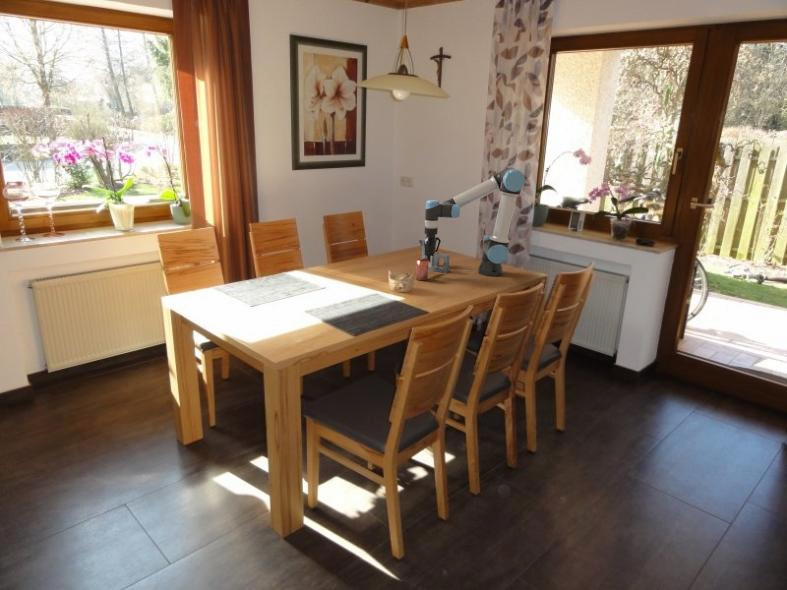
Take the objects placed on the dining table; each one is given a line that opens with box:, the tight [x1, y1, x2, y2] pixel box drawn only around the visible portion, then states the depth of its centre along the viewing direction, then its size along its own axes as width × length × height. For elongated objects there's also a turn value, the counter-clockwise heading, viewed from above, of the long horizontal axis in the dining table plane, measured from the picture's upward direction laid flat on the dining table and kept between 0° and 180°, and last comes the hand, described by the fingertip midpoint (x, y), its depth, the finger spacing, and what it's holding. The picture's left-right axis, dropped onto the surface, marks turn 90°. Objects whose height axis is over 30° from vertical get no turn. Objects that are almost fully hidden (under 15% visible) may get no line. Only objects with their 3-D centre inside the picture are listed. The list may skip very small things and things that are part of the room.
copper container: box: [415, 257, 437, 281], centre depth 326 cm, size 7×21×12 cm, turn 148°
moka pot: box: [417, 236, 442, 266], centre depth 351 cm, size 10×15×20 cm, turn 115°
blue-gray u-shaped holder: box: [432, 252, 451, 274], centre depth 340 cm, size 10×6×11 cm, turn 58°
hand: (429, 266), depth 327 cm, fingers closed
